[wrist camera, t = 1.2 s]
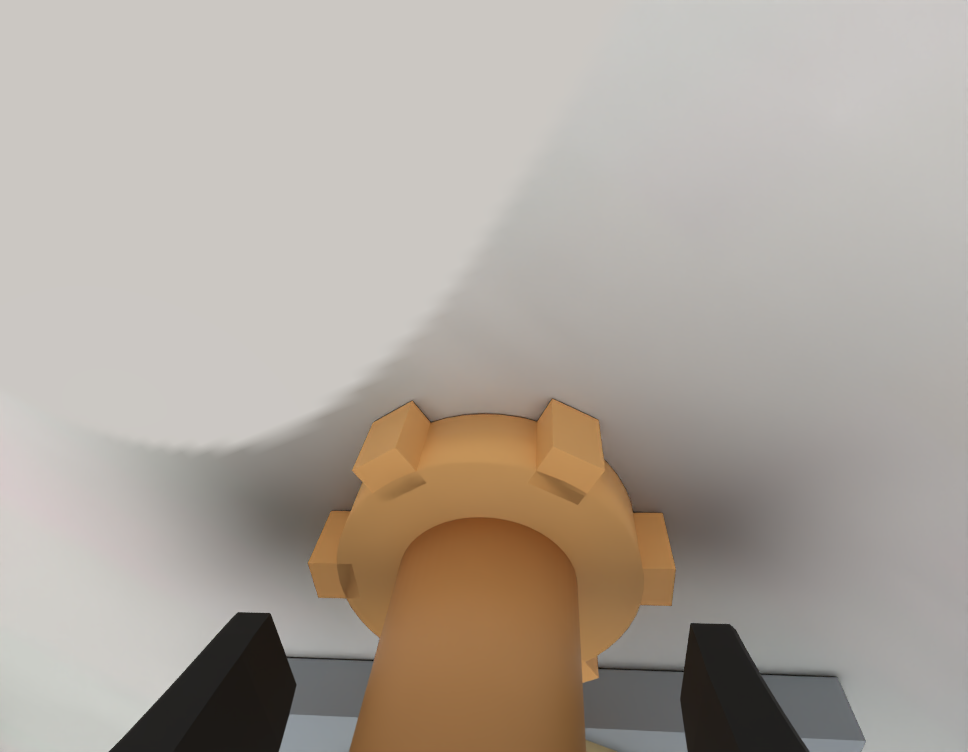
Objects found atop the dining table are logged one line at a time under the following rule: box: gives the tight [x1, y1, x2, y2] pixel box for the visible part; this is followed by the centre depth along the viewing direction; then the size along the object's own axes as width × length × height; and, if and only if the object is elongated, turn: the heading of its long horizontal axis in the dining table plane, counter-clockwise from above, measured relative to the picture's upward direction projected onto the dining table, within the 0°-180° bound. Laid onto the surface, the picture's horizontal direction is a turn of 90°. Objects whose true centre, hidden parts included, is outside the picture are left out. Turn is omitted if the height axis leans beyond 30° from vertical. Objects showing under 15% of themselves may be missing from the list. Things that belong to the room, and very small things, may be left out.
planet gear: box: [308, 399, 676, 752], centre depth 11 cm, size 7×7×6 cm
